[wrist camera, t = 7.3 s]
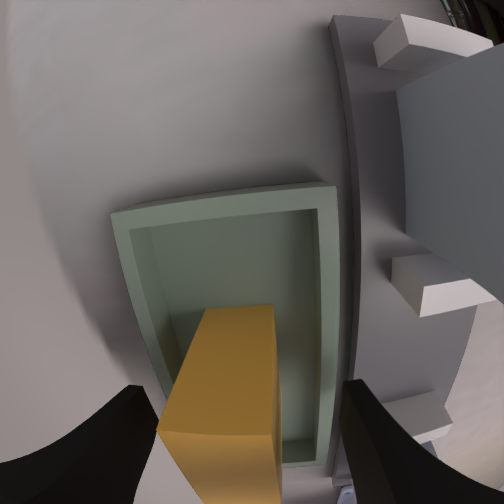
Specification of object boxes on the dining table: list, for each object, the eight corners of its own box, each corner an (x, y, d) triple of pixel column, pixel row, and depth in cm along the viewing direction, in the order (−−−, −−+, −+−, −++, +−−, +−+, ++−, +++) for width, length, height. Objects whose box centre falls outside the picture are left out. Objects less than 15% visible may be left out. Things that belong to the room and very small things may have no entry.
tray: (322, 437, 14) (326, 464, 12) (205, 441, 15) (199, 466, 13) (324, 180, 10) (336, 185, 8) (135, 204, 10) (110, 213, 8)
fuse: (460, 229, 9) (575, 294, 3) (405, 234, 9) (521, 318, 3) (454, 98, 7) (577, 76, 2) (395, 90, 8) (518, 37, 2)
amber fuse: (281, 395, 12) (281, 508, 7) (226, 397, 13) (205, 505, 7) (273, 303, 11) (271, 434, 5) (205, 308, 11) (155, 429, 5)
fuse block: (406, 460, 15) (417, 494, 12) (331, 476, 16) (335, 514, 12) (457, 45, 7) (503, 23, 4) (328, 26, 8) (349, -22, 4)
